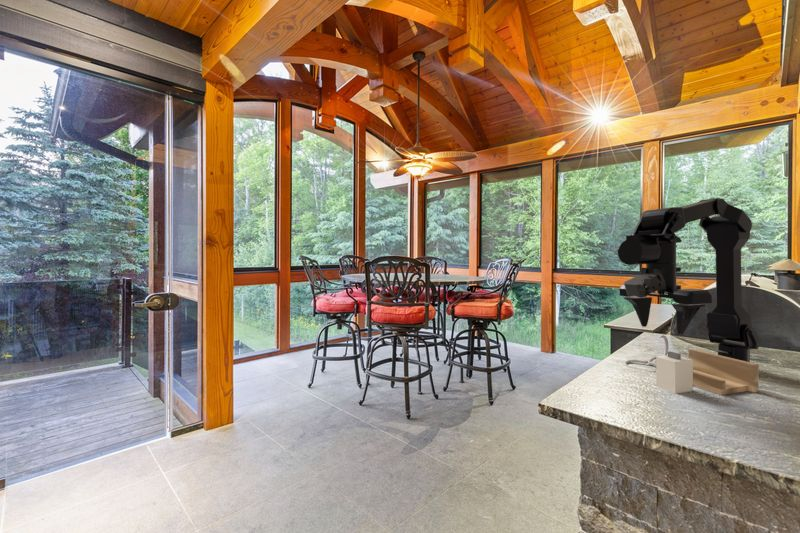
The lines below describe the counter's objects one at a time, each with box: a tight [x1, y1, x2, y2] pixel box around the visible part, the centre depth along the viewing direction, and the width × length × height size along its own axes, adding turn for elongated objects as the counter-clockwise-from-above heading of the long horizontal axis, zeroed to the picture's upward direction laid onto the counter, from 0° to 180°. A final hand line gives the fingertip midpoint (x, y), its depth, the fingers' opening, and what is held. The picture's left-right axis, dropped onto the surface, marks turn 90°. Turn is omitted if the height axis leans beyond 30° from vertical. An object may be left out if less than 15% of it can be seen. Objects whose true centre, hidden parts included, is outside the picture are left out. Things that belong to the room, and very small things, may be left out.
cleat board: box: [688, 348, 760, 396], centre depth 87 cm, size 9×14×6 cm, turn 14°
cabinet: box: [655, 350, 694, 394], centre depth 84 cm, size 5×4×8 cm
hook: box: [623, 334, 669, 373], centre depth 104 cm, size 7×9×20 cm
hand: (661, 330), depth 86 cm, fingers open, 9 cm apart
